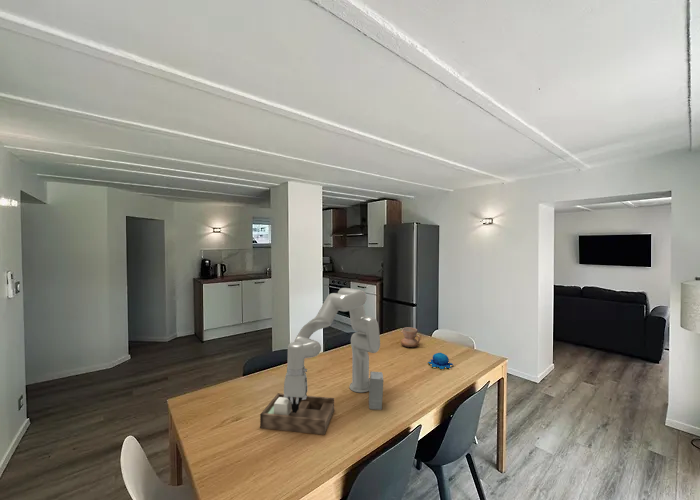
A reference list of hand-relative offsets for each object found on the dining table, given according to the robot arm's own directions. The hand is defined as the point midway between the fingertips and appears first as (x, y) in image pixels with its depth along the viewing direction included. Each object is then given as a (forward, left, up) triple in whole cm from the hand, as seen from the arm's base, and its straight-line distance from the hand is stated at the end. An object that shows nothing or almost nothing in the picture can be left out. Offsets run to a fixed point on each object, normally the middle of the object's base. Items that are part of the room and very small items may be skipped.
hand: (295, 411), depth 132 cm
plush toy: (-76, -82, -6) cm, 112 cm away
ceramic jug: (-57, -119, -6) cm, 132 cm away
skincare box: (-35, -21, -6) cm, 42 cm away
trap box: (-1, -4, -6) cm, 7 cm away
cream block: (+6, +1, -2) cm, 6 cm away
